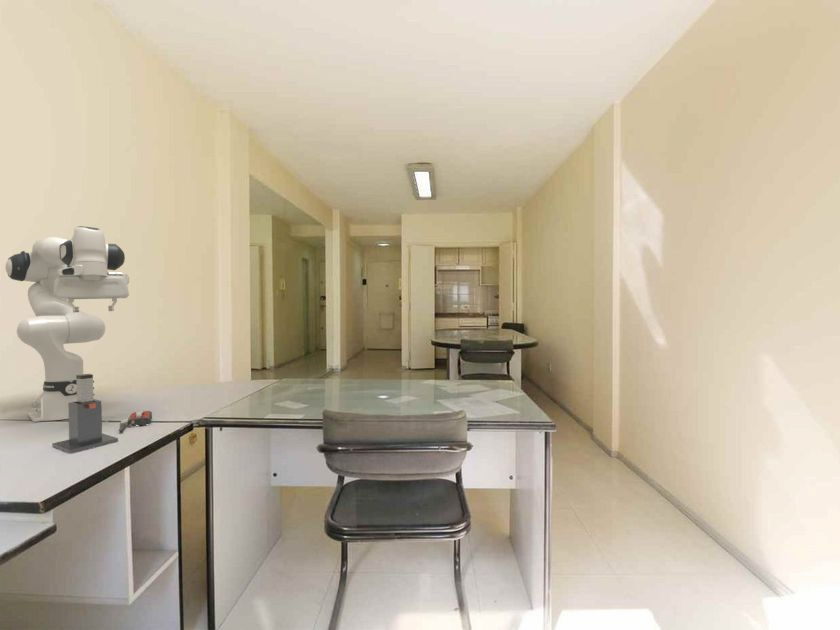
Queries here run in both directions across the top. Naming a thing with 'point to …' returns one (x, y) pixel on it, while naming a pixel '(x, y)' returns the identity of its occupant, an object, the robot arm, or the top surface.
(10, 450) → the top surface
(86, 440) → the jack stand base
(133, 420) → the walkie-talkie
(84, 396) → the column
